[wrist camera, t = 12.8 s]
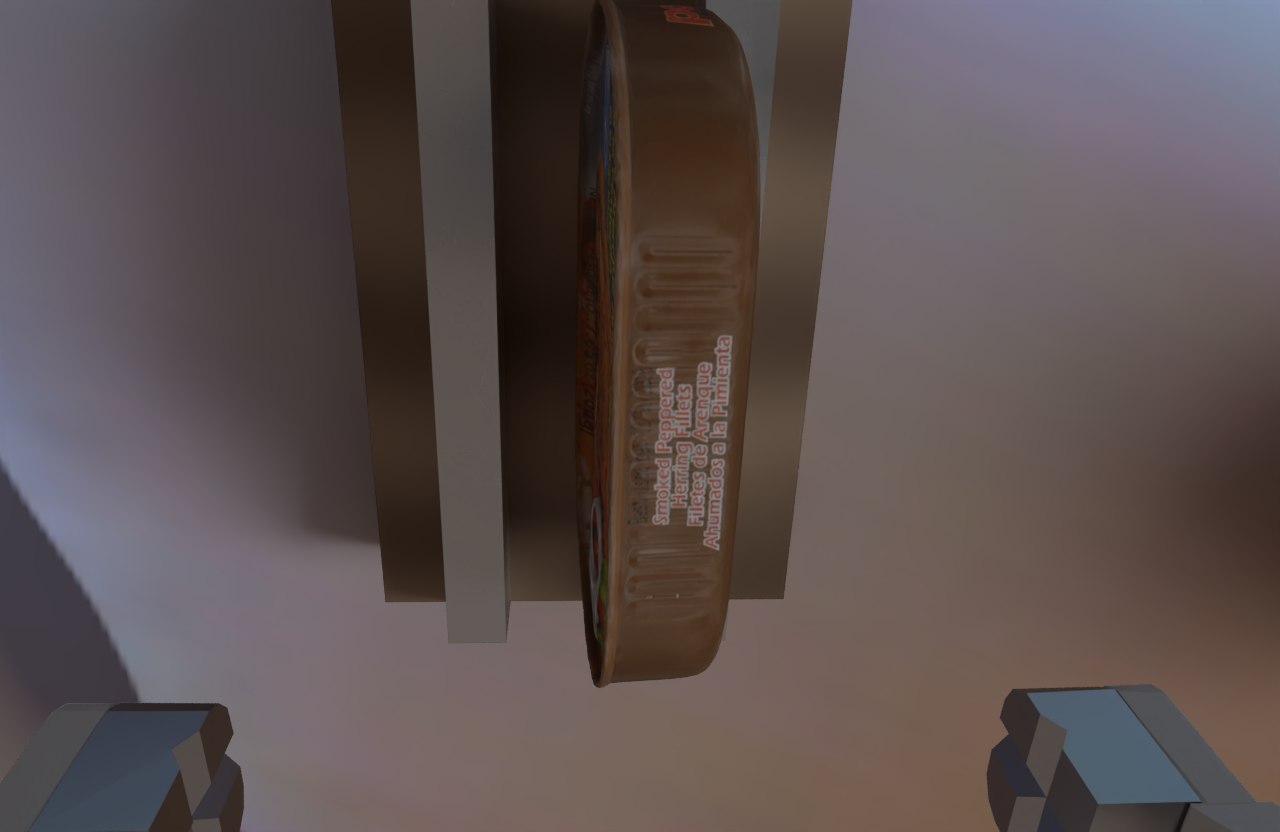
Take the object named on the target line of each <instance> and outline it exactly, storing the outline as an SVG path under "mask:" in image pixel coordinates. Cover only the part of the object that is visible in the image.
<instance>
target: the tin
mask: <svg viewBox="0 0 1280 832" xmlns="http://www.w3.org/2000/svg"><path fill="white" fill-rule="evenodd" d="M577 225H578V231H577V327H576V397H575V459H576V509H577V530H578V547H579V565H580V579H581V591H582V601H583V609H584V624H585V636H586V644H587V653H588V660H589V664H590V669H591V675H592V680H593V683H594V685H595V686H596V687H598V688H602V687H605V686H606V685H608V684H609V683H617V682H631V681H645V680H661V679H674V678H683V677H689V676H694V675H697V674H700V673H701V672H703V671H705V670H706V669H707V668H708V667H709V666H710V664H711V663H712V661H713V659H714V658H715V656H716V654H717V651H718V649H719V645H720V642H721V638H722V635H723V630H724V625H725V620H726V615H727V609H728V601H729V593H730V584H731V572H732V562H733V552H734V543H735V532H736V522H737V513H738V500H739V489H740V479H741V467H742V458H743V446H744V432H745V419H746V409H747V399H748V387H749V374H750V360H751V345H752V337H753V322H754V308H755V296H756V282H757V269H758V256H759V238H760V144H759V134H758V125H757V115H756V105H755V96H754V91H753V86H752V82H751V77H750V72H749V68H748V64H747V61H746V57H745V53H744V50H743V48H742V45H741V42H740V40H739V38H738V37H737V35H736V34H735V32H734V30H733V29H732V28H731V27H730V26H728V25H727V24H726V23H725V22H724V21H723V20H722V19H721V18H720V17H719V16H718V15H716V14H715V13H714V12H713V11H710V10H708V9H706V8H700V7H689V6H675V5H636V4H621V3H614V2H613V1H612V0H595V2H594V4H593V7H592V12H591V16H590V22H589V30H588V37H587V41H586V50H585V56H584V63H583V71H582V81H581V95H580V121H579V169H578V222H577Z"/></svg>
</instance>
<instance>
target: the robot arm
mask: <svg viewBox="0 0 1280 832" xmlns="http://www.w3.org/2000/svg"><path fill="white" fill-rule="evenodd" d="M1000 719H1001V721H1002V722H1003V724H1004V726H1005V728H1006V729H1007V731H1008V733H1009V734H1008V735H1007V736H1006V737H1005V738H1004V739H1003V740H1002V741H1000V742H999V743H998V744H997V745H996V746H995V747H994V748H993V749H992V750H991V755H990V760H989V764H988V769H987V786H988V799H989V803H990V807H991V810H992V813H993V817H994V820H995V822H996V824H997V826H998V829H999V831H1000V832H1280V807H1279V806H1278V805H1276V804H1274V803H1272V802H1256V801H1255V799H1254V798H1253V797H1252V796H1251V795H1250V793H1249V792H1248V791H1247V790H1246V789H1245V787H1244V786H1243V785H1242V784H1241V783H1240V782H1239V780H1238V779H1237V778H1236V777H1235V776H1234V774H1233V773H1232V772H1231V771H1230V770H1229V768H1228V767H1227V766H1226V765H1225V764H1224V763H1223V761H1222V760H1221V759H1220V758H1219V757H1218V755H1217V754H1216V753H1215V752H1214V751H1213V749H1212V748H1211V747H1210V746H1209V745H1208V744H1207V742H1206V741H1205V740H1204V739H1203V738H1202V736H1201V735H1200V734H1199V733H1198V732H1197V730H1196V729H1195V728H1194V727H1193V726H1192V725H1191V723H1190V722H1189V721H1188V720H1187V719H1186V717H1185V716H1184V715H1183V714H1182V713H1181V711H1180V710H1179V709H1178V708H1177V707H1176V706H1175V704H1174V703H1173V702H1172V701H1171V700H1170V698H1169V697H1168V696H1167V695H1166V694H1165V693H1164V692H1163V691H1162V690H1160V689H1158V688H1157V687H1155V686H1153V685H1151V684H1141V685H1113V686H1104V687H1066V688H1028V689H1012V691H1011V692H1010V693H1009V695H1008V696H1007V697H1006V698H1005V701H1004V704H1003V708H1002V711H1001V715H1000ZM232 736H233V729H232V725H231V721H230V716H229V712H228V708H226V707H225V706H223V705H221V704H219V703H118V704H68V703H67V704H65V705H63V706H62V707H60V708H58V709H57V710H55V711H53V712H52V713H51V714H50V715H49V717H48V718H47V720H46V721H45V722H44V724H43V725H42V726H41V728H40V729H39V730H38V732H37V733H36V735H35V736H34V737H33V739H32V740H31V741H30V743H29V744H28V746H27V747H26V748H25V750H24V751H23V752H22V754H21V755H20V757H19V758H18V759H17V761H16V762H15V764H14V765H13V766H12V768H11V769H10V770H9V772H8V773H7V775H6V776H5V777H4V779H3V780H2V781H1V783H0V832H240V827H241V821H242V816H243V810H244V785H243V779H242V774H241V768H240V766H239V765H238V764H237V763H235V762H234V761H233V760H232V759H231V758H230V757H228V756H227V755H226V754H225V751H226V749H227V747H228V745H229V742H230V740H231V738H232Z"/></svg>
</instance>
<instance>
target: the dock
mask: <svg viewBox="0 0 1280 832" xmlns="http://www.w3.org/2000/svg"><path fill="white" fill-rule="evenodd" d="M612 1H613V2H614V3H621V4H636V5H675V6H689V7H700V8H706V9H708V10H710V11H713V12H714V13H715V14H716V15H718V16H719V17H720V18H721V19H722V20H723V21H724V22H725V23H726V24H727V25H728V26H730V27H731V28H732V29H733V30H734V32H735V34H736V35H737V37H738V38H739V40H740V42H741V45H742V48H743V50H744V53H745V57H746V61H747V64H748V68H749V72H750V77H751V82H752V86H753V91H754V96H755V105H756V115H757V125H758V134H759V144H760V238H759V256H758V269H757V282H756V296H755V308H754V322H753V337H752V345H751V360H750V374H749V387H748V399H747V409H746V419H745V432H744V446H743V458H742V467H741V479H740V489H739V500H738V513H737V522H736V532H735V543H734V552H733V562H732V572H731V584H730V593H729V599H784V590H785V581H786V573H787V564H788V555H789V546H790V538H791V529H792V520H793V512H794V503H795V494H796V486H797V477H798V468H799V460H800V451H801V442H802V433H803V425H804V416H805V407H806V399H807V390H808V381H809V373H810V364H811V355H812V347H813V338H814V329H815V320H816V312H817V303H818V294H819V286H820V277H821V268H822V260H823V251H824V242H825V234H826V225H827V216H828V207H829V199H830V190H831V181H832V173H833V164H834V155H835V147H836V138H837V129H838V121H839V112H840V103H841V94H842V86H843V77H844V68H845V60H846V51H847V42H848V34H849V25H850V16H851V8H852V0H612ZM594 2H595V0H331V4H332V15H333V26H334V37H335V48H336V59H337V70H338V81H339V93H340V104H341V115H342V126H343V137H344V148H345V159H346V170H347V181H348V192H349V203H350V214H351V226H352V237H353V248H354V259H355V270H356V281H357V292H358V303H359V314H360V325H361V336H362V348H363V359H364V370H365V381H366V392H367V403H368V414H369V425H370V436H371V447H372V458H373V469H374V481H375V492H376V503H377V514H378V525H379V536H380V547H381V558H382V569H383V580H384V591H385V602H446V610H447V627H448V643H506V640H507V631H508V622H509V613H510V604H511V601H582V591H581V579H580V565H579V547H578V530H577V509H576V459H575V397H576V327H577V231H578V225H577V222H578V169H579V121H580V95H581V81H582V71H583V63H584V56H585V50H586V41H587V37H588V30H589V22H590V16H591V12H592V7H593V4H594ZM728 603H729V601H728ZM727 614H728V609H727ZM726 626H727V615H726V620H725V625H724V630H723V635H722V638H721V640H725V637H726Z"/></svg>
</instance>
